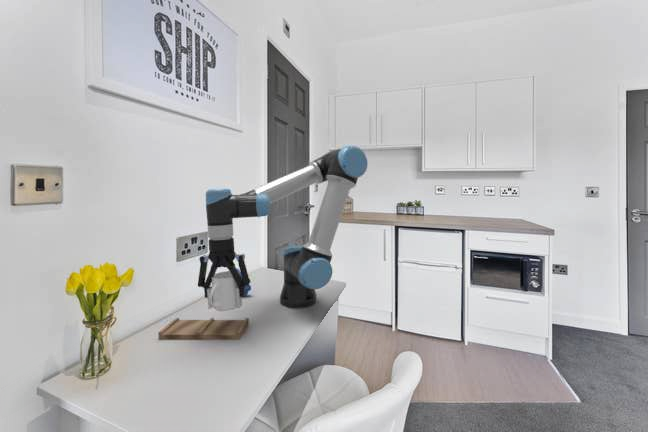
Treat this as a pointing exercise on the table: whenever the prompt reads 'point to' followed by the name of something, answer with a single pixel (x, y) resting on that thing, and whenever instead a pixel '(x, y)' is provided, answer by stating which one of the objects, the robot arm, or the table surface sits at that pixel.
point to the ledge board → (204, 329)
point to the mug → (223, 291)
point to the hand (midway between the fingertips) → (225, 306)
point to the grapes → (246, 288)
